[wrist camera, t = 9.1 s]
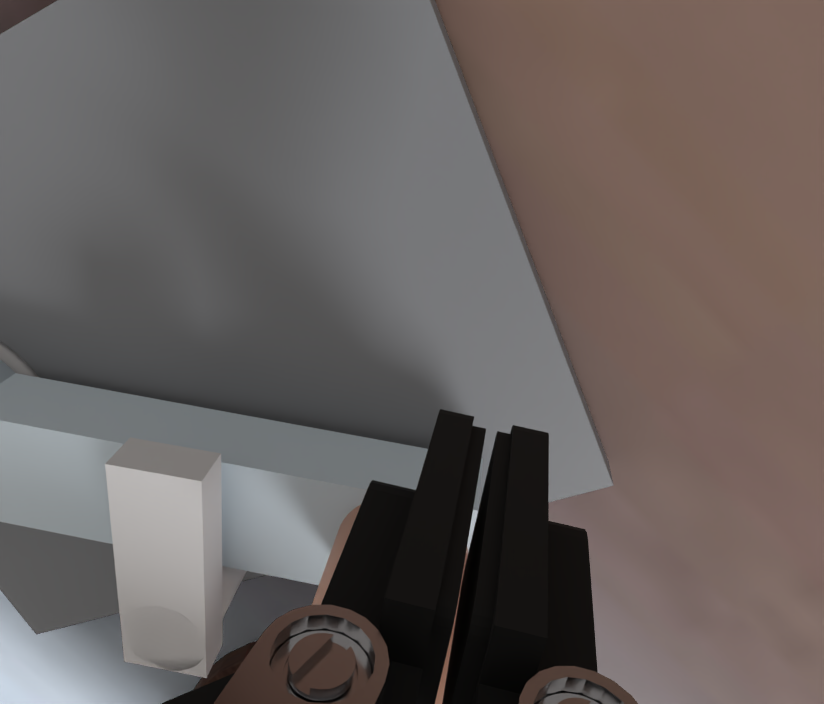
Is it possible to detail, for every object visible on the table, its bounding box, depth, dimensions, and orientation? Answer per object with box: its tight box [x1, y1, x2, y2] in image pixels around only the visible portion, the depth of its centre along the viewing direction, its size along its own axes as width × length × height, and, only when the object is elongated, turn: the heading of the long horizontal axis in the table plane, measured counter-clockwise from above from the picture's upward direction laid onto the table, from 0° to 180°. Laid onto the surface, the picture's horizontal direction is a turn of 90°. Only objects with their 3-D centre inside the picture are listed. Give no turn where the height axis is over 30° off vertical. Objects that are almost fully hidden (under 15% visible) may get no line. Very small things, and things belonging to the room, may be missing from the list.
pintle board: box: [0, 0, 613, 678], centre depth 16 cm, size 18×14×5 cm
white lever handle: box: [0, 360, 483, 704], centre depth 14 cm, size 16×4×8 cm, turn 83°
